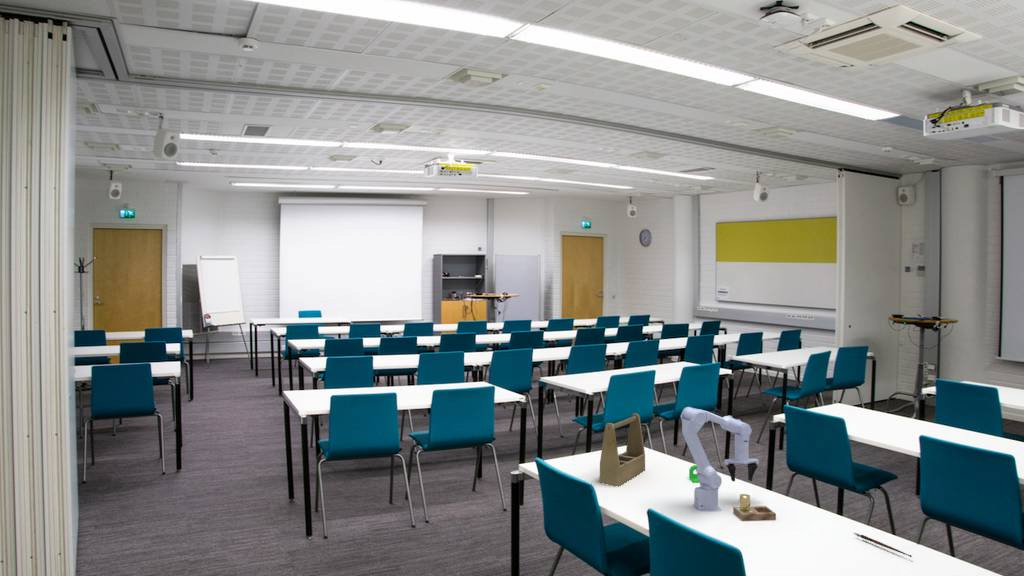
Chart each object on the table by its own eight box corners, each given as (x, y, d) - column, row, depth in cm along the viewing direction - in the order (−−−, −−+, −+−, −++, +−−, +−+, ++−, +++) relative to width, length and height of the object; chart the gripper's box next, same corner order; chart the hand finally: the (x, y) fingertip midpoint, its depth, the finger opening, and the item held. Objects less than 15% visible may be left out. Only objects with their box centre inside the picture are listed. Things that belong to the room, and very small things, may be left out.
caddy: (626, 470, 340) (626, 411, 340) (645, 473, 334) (645, 414, 333) (599, 484, 316) (599, 421, 316) (619, 488, 310) (619, 424, 310)
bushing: (742, 511, 271) (742, 497, 271) (738, 508, 275) (738, 494, 275) (751, 511, 271) (751, 496, 271) (747, 508, 275) (747, 494, 275)
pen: (851, 534, 253) (910, 557, 233) (852, 531, 253) (911, 554, 233) (853, 534, 254) (912, 557, 233) (854, 531, 254) (913, 554, 233)
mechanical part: (693, 485, 315) (693, 468, 315) (689, 481, 321) (689, 465, 321) (718, 485, 316) (718, 468, 316) (713, 481, 322) (713, 464, 322)
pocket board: (742, 520, 268) (742, 514, 268) (733, 512, 277) (733, 506, 277) (775, 519, 269) (775, 513, 269) (765, 512, 278) (765, 505, 278)
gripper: (729, 452, 285) (729, 483, 285) (761, 451, 286) (761, 482, 286) (722, 448, 292) (722, 478, 292) (754, 447, 293) (754, 478, 293)
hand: (741, 480), depth 289 cm, fingers open, 7 cm apart
